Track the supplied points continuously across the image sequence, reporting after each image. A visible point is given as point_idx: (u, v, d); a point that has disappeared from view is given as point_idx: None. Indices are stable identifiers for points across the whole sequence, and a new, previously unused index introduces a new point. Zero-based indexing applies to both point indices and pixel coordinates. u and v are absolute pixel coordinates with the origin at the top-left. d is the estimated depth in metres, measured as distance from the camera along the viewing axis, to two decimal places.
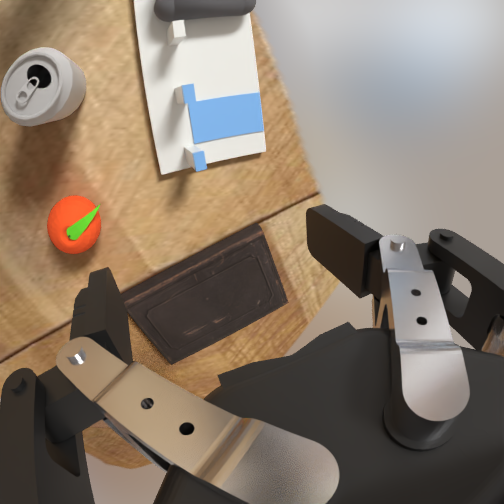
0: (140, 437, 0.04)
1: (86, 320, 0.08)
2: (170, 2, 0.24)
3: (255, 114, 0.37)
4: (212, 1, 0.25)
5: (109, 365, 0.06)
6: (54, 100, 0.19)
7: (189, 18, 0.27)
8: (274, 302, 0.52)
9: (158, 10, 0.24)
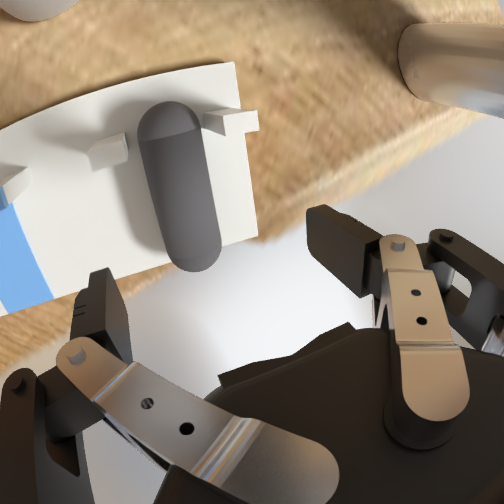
0: (140, 437, 0.04)
1: (86, 320, 0.08)
2: (170, 128, 0.16)
3: (22, 299, 0.20)
4: (180, 205, 0.18)
5: (109, 365, 0.06)
6: None
7: (144, 168, 0.18)
8: None
9: (155, 110, 0.16)
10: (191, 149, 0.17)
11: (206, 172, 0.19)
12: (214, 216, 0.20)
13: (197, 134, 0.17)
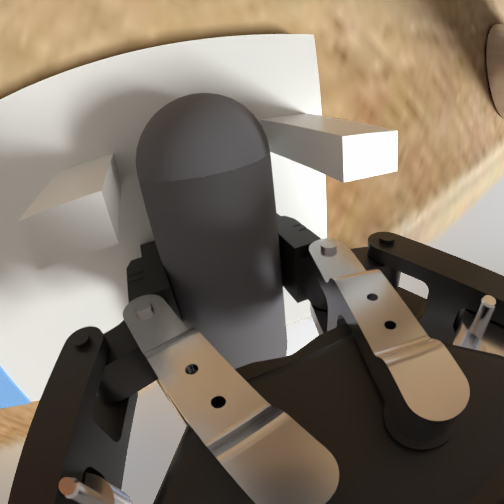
0: (173, 398, 0.05)
1: (148, 282, 0.09)
2: (214, 158, 0.07)
3: None
4: (229, 311, 0.09)
5: (172, 326, 0.07)
6: None
7: (153, 232, 0.09)
8: None
9: (178, 112, 0.07)
10: (257, 203, 0.08)
11: (277, 243, 0.10)
12: (283, 314, 0.11)
13: (267, 169, 0.08)
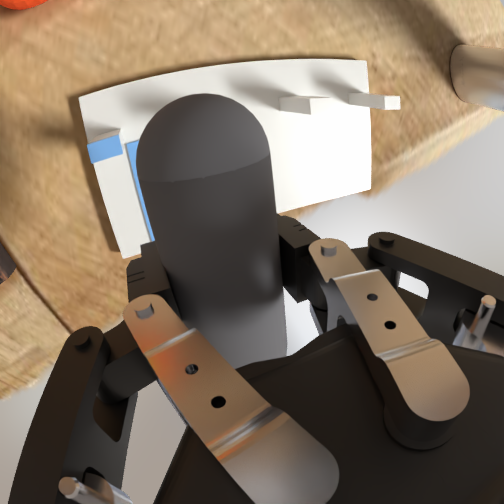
0: (173, 398, 0.05)
1: (148, 282, 0.09)
2: (214, 158, 0.07)
3: None
4: (229, 312, 0.09)
5: (171, 326, 0.07)
6: None
7: (153, 233, 0.09)
8: None
9: (178, 112, 0.07)
10: (257, 204, 0.08)
11: (278, 243, 0.10)
12: (283, 315, 0.11)
13: (268, 169, 0.08)
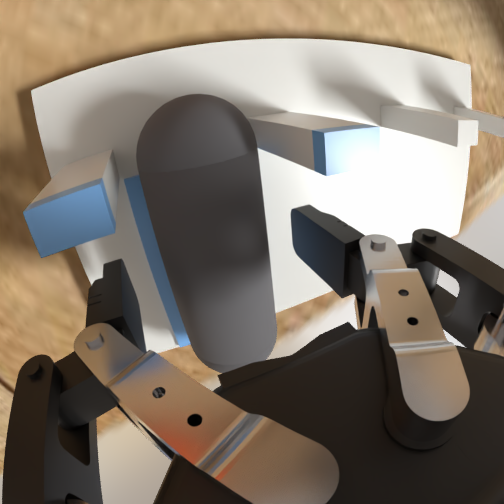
0: (148, 424, 0.04)
1: (103, 307, 0.08)
2: (205, 151, 0.08)
3: None
4: (220, 293, 0.10)
5: (126, 352, 0.06)
6: None
7: (151, 220, 0.10)
8: None
9: (173, 111, 0.08)
10: (244, 192, 0.09)
11: (265, 230, 0.11)
12: (272, 299, 0.12)
13: (254, 161, 0.09)
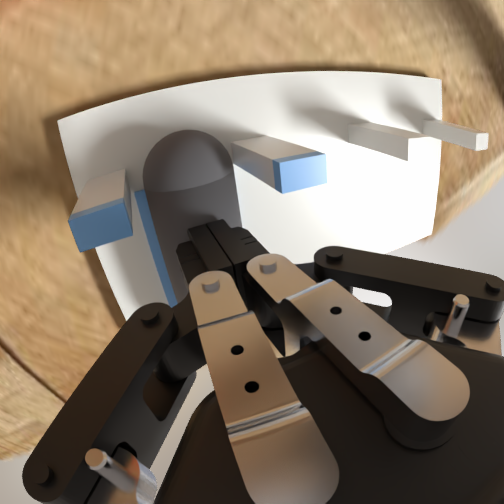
0: (210, 373, 0.05)
1: (207, 261, 0.09)
2: (190, 177, 0.11)
3: None
4: None
5: (232, 305, 0.07)
6: None
7: None
8: None
9: (168, 146, 0.11)
10: (221, 206, 0.12)
11: None
12: None
13: (229, 183, 0.13)
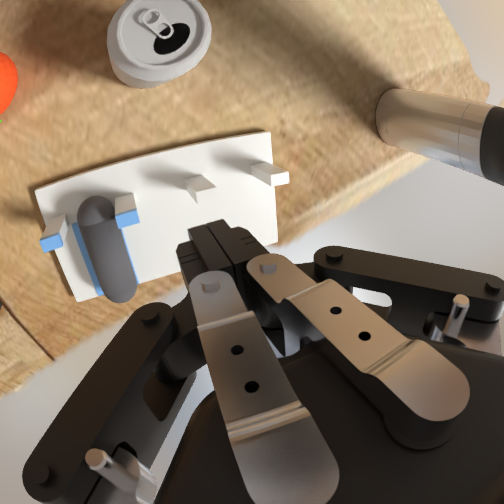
0: (210, 373, 0.05)
1: (207, 261, 0.09)
2: (98, 218, 0.26)
3: None
4: (109, 263, 0.28)
5: (232, 305, 0.07)
6: (132, 60, 0.16)
7: (84, 241, 0.27)
8: None
9: (87, 205, 0.25)
10: (112, 228, 0.27)
11: (122, 240, 0.29)
12: (130, 266, 0.30)
13: (114, 218, 0.27)
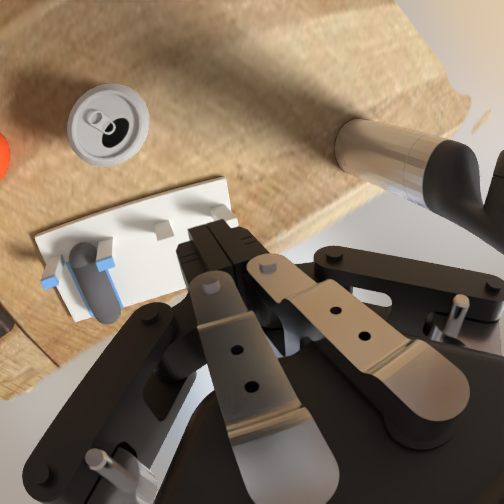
0: (210, 373, 0.05)
1: (207, 261, 0.09)
2: (84, 262, 0.32)
3: None
4: (96, 295, 0.34)
5: (232, 305, 0.07)
6: (86, 156, 0.22)
7: (76, 278, 0.34)
8: None
9: (76, 252, 0.32)
10: (96, 269, 0.34)
11: (105, 276, 0.35)
12: (113, 296, 0.37)
13: None
